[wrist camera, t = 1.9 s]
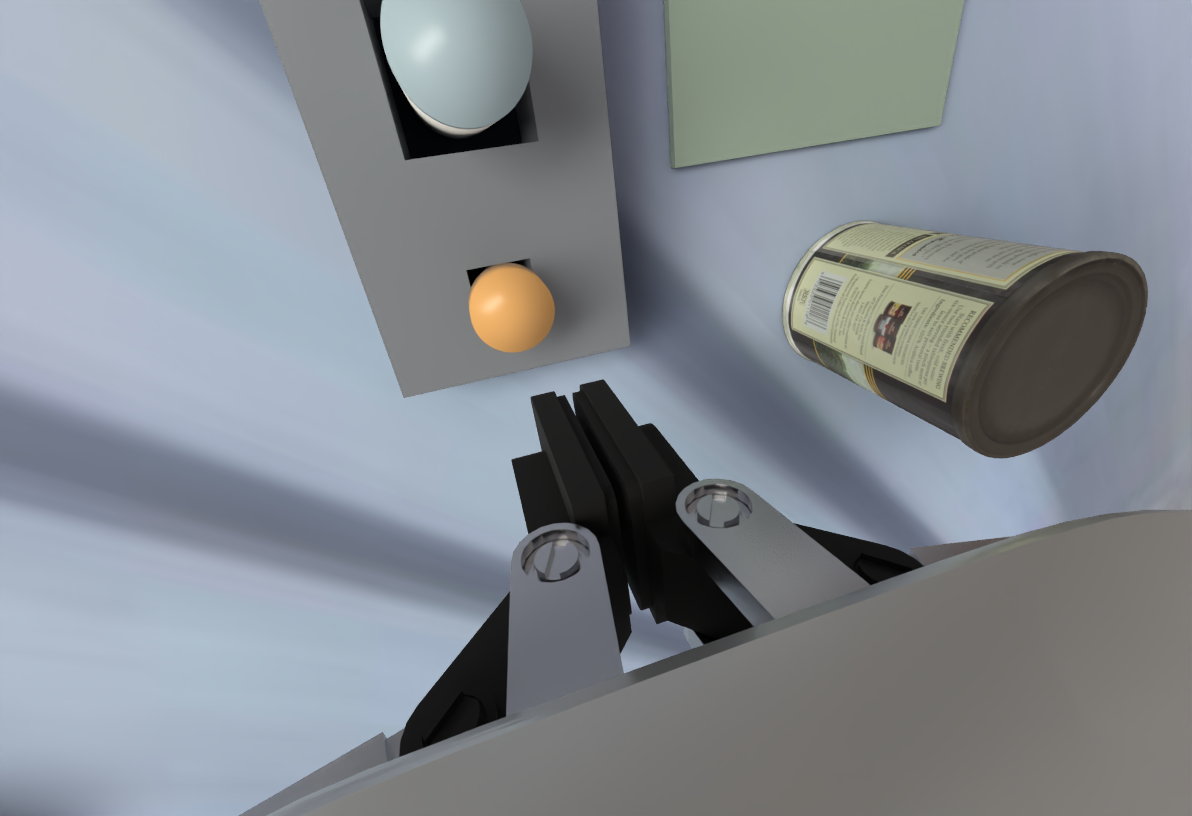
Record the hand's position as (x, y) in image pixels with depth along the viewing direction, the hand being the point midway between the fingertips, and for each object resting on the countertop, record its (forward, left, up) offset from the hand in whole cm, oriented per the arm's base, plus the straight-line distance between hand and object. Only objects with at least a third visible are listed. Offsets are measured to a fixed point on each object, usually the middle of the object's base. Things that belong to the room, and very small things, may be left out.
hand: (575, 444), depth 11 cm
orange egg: (0, 0, -17) cm, 17 cm away
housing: (-5, 0, -19) cm, 20 cm away
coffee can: (+6, +24, -19) cm, 31 cm away
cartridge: (-9, 0, -19) cm, 21 cm away
